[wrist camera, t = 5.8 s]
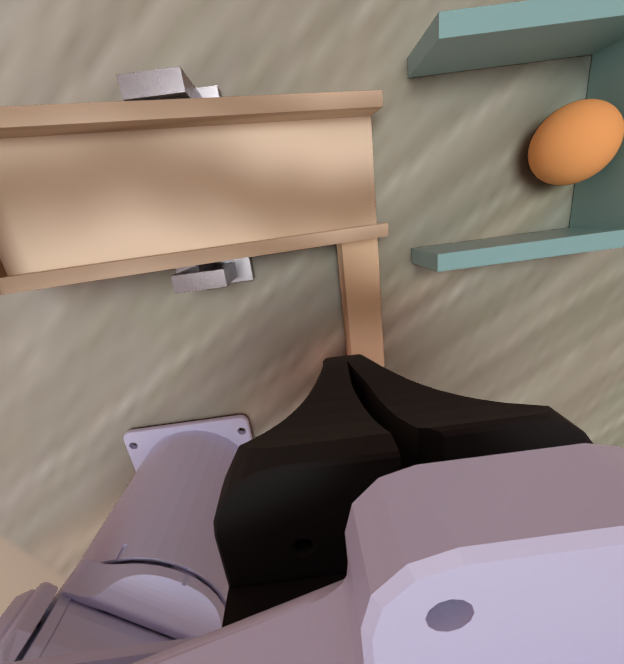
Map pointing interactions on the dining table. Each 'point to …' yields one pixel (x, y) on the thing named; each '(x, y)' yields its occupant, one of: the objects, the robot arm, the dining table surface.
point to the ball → (576, 142)
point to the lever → (192, 191)
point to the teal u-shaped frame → (523, 47)
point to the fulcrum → (180, 87)
